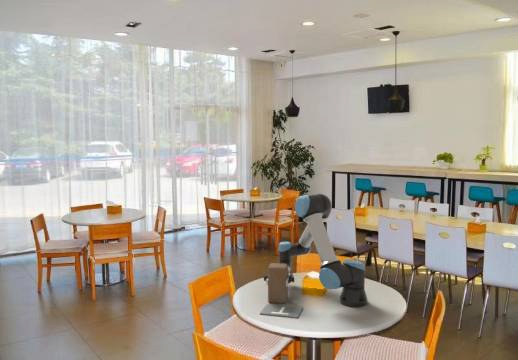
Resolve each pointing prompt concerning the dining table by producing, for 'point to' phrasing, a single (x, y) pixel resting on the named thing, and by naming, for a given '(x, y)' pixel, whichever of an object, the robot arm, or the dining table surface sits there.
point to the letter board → (281, 311)
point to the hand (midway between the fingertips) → (276, 283)
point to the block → (277, 283)
